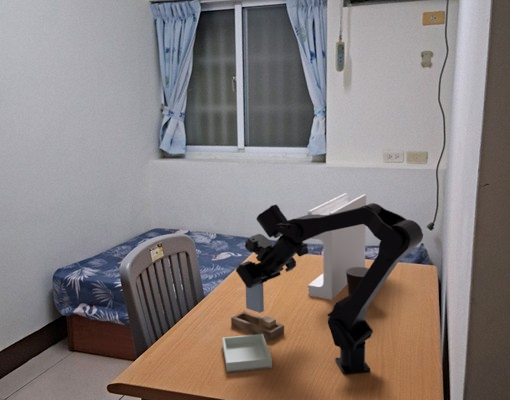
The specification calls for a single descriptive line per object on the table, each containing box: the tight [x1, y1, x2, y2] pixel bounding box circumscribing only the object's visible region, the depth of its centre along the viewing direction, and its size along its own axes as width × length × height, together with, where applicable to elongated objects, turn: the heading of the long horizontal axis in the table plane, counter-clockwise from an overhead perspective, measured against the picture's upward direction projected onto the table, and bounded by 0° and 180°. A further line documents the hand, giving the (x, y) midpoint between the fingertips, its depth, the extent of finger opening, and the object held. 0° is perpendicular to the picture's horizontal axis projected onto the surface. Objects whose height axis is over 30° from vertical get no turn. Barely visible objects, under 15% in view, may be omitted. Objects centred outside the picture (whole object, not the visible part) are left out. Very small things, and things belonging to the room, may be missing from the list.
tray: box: [221, 334, 273, 374], centre depth 116 cm, size 13×11×2 cm
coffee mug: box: [346, 266, 370, 297], centre depth 145 cm, size 12×9×10 cm
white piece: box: [307, 192, 367, 301], centre depth 164 cm, size 35×8×28 cm, turn 150°
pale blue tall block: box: [245, 283, 265, 314], centre depth 129 cm, size 5×2×10 cm, turn 49°
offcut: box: [259, 315, 277, 330], centre depth 127 cm, size 4×3×2 cm
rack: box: [230, 311, 285, 342], centre depth 130 cm, size 15×5×2 cm, turn 49°
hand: (251, 283), depth 129 cm, fingers closed on pale blue tall block, 2 cm apart
